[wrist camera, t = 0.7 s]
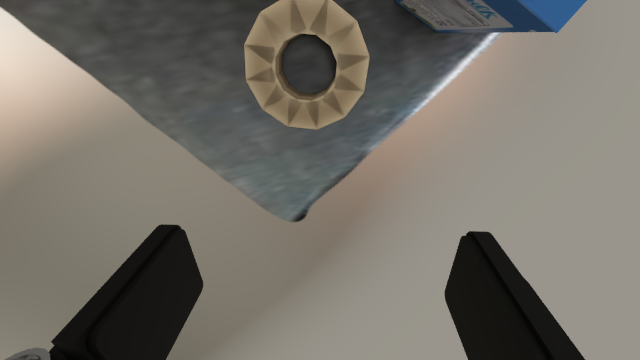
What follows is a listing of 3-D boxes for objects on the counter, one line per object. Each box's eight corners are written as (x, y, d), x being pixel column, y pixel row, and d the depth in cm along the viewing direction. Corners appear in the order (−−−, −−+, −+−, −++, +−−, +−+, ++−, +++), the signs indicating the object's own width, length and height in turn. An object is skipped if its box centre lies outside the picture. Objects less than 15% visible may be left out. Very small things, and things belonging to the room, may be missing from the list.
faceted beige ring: (252, -7, 31) (241, -12, 27) (374, 5, 31) (378, 1, 27) (256, 114, 38) (247, 122, 34) (355, 124, 37) (357, 133, 34)
